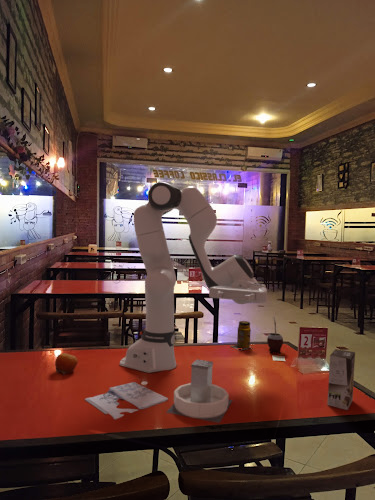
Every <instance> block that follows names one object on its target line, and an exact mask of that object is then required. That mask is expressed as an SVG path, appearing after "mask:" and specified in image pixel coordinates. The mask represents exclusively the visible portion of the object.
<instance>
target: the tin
mask: <svg viewBox="0 0 375 500" xmlns="http://www.w3.org/2000/svg"><path fill="white" fill-rule="evenodd" d="M213 365H214V361H211V360H203V359H195V360H194V361H193V362H192V363H191V364H190V367H191V373H190V375H191V376H190V378H191V379H190V383H191V400H190V402H195V403H210V402H211V391H212V384H213V382H212V381H213Z"/></svg>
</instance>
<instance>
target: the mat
mask: <svg viewBox="0 0 375 500" xmlns="http://www.w3.org/2000/svg"><path fill="white" fill-rule="evenodd" d="M232 402H233V400H232V399H229V401H228V406H227V410H228V409H229V408H230V406H231V404H232ZM226 412H227V411H226ZM226 412H225V413H224V414H223V415H221V416H218V417H214V418H207V419H201V418H196V419H197V420H201V421H208V422H213V423H216V424H220V423H221V421H222V420H223V418H224V416H225V414H226ZM166 413H167V414H173V415H178V416H183V417H187V418H189V417H188V416H185V415H183V414H181V413H179V412H178V411H177V410H176V409H175V406H174V403H173V404H172V405H171V406H170V407H169V408H168V409H167V411H166ZM191 418H193V417H191ZM193 419H194V418H193Z"/></svg>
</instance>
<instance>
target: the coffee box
mask: <svg viewBox="0 0 375 500" xmlns="http://www.w3.org/2000/svg"><path fill="white" fill-rule="evenodd" d="M355 357H356V352H355V351H350V350H345V349H344V350H343V349H338V348H336V349H334V350H333V351H332V353H331V354H330V356H329V367H328V368H329V369H328V386H327V387H328V388H327V389H328V390H327V404H326V405H328V406H330V407H334V408H338V409H341V410H345V411H348V410H349V408H350V407H351V404H352V402H353V399H354V384H355V383H354V382H355V381H354V379H355V363H356V362H355V361H356V360H355V359H356V358H355Z"/></svg>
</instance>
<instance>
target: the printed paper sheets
mask: <svg viewBox="0 0 375 500" xmlns="http://www.w3.org/2000/svg"><path fill="white" fill-rule="evenodd" d="M120 399H121V400H123V401H126V402H128V403H130V404H132V405H134V406H135V407H136V408H137V409H136V408H118V407H117V406H119V405H120V402H118V400H120ZM168 400H169V398H168V397H166V396H164V395H162V394H160V393H158V392H156V391H153V390H152V389H149V388H147V387H145V386H143V385H141V384H139V383H137V382H135V381H133V382H132V381H131V382H129V383H124V384H120V385H115V386H111V387H109V390H108V391H107V392H106V393H102V394H98V395H94V396H93V397H91V396H90V397H86V398H85V399H84V401H85V402H86V403H88V404H90V405H92V406H93V407H95V408H96V409H97V410H99V411H100V412H102V413H103V414H104V415H107V414H108V415H110V416H111V417H112V418H113V419H114V420H117V419H120V418H122V417H123V416H125V415H124V414H125V413H130V414H132V413H134V412H137V411H139V410H144V409H148V408H150V407H152V406H156V405H159V404H162V403H165V402H167V401H168ZM121 413H124V414H121Z"/></svg>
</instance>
